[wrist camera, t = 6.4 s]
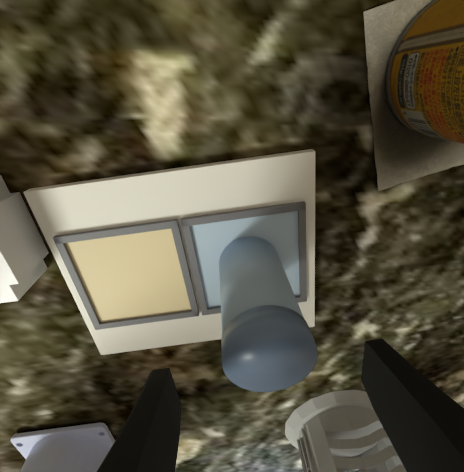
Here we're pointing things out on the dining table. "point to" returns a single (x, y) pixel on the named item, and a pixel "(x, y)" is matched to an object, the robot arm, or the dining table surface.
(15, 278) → the button housing
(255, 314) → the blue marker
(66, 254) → the sheet
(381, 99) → the condiment
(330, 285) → the dining table surface
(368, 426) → the french press
